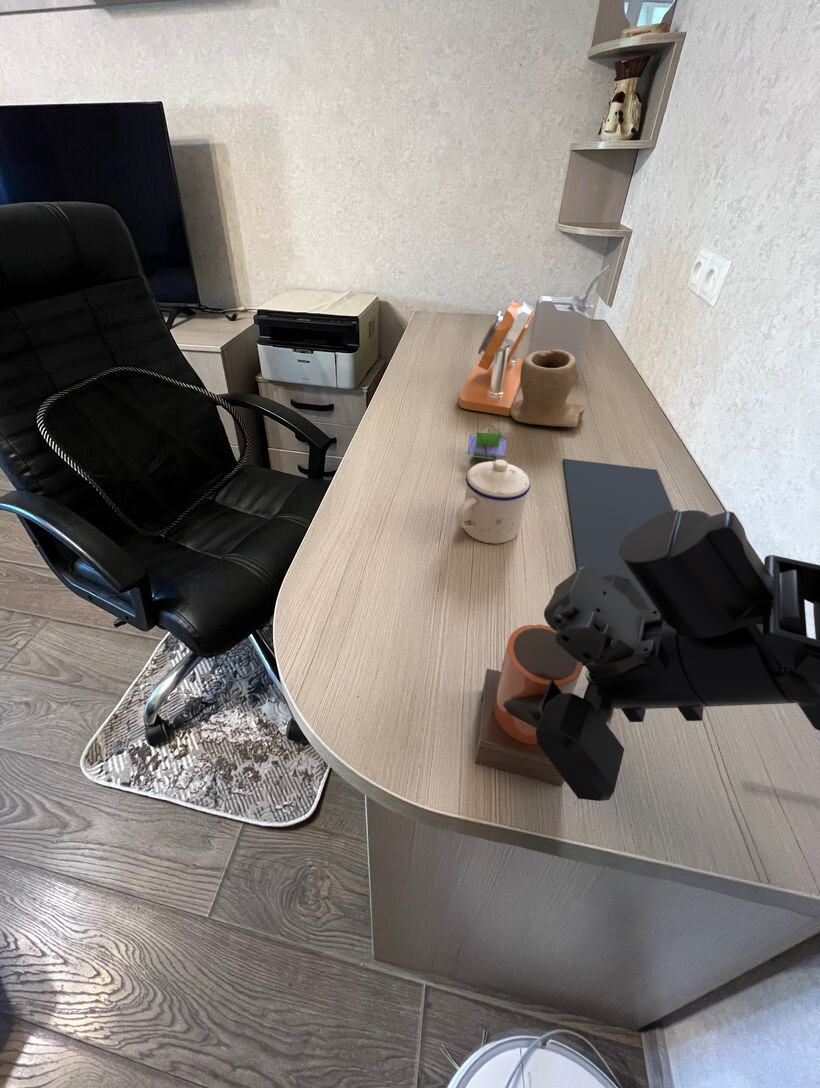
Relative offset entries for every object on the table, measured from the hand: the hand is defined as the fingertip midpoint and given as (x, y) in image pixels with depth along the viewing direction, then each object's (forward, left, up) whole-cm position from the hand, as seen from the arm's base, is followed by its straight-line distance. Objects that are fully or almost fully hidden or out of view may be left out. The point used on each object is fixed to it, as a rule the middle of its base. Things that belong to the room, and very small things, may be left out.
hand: (519, 679), depth 46 cm
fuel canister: (+37, -97, -8) cm, 104 cm away
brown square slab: (-1, 0, -8) cm, 8 cm away
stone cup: (+26, -66, -8) cm, 71 cm away
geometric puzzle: (+28, -44, -8) cm, 53 cm away
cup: (-1, 0, -4) cm, 4 cm away
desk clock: (+43, -75, -8) cm, 87 cm away
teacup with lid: (+18, -26, -8) cm, 33 cm away
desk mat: (0, -39, -8) cm, 40 cm away
